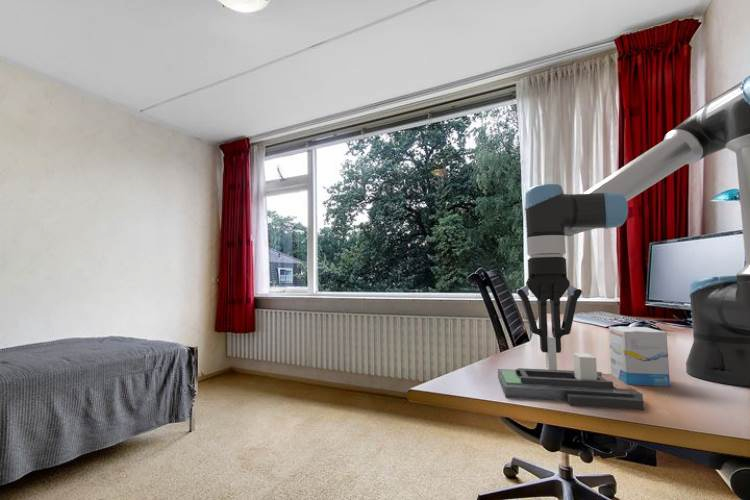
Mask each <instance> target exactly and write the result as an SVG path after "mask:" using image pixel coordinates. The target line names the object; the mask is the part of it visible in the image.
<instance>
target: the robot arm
mask: <svg viewBox="0 0 750 500" xmlns="http://www.w3.org/2000/svg"><path fill="white" fill-rule="evenodd" d="M724 149H728V150H730V151H731V152H733V153H735V157H736V158H735V159H736V166H737V167H736V169H737V178H738V179H737V180H738V190H739V200H740V201H739V203H740V213H741V215H740V216H741V224H742V238H743V247H744V248H743V250H744V258H745V265H744V267H743V268H742V269H740V270H738V271H737V272H736V274H735V275H721V276H708V277H702V278H697V279H695V280H692V281H691V282H690V287H689V298H690V308H691V322H692V323H691V324H692V333H693V334H692V335H693V336H692V338H693V340H692V341H693V342H692V346H691V348H690V351H689V353H688V356H687V359H686V361H685V370H686V371H685V372H686V373H687V374H688V375H690V376H693V377H695V378H698V379H701V380H705V381H709V382H714V383H715V382H716V383H719V384H726V385H734V386H742V387H750V75H748V76H747V77H745V78H744V79H743V80H742V81H741V82H738V83H737V84H735V85H734V86H732V87H731V88H729V89H727V90H726V91H724V92H722V93H721V94H719V95H717V96H716V97H713V99H711V100H709V101H708V102H706V103H704V105H702V106H701V107H700V108H699V109H697V110H696V111H695V112H694V113H693V114H691V115H690V116H689V117H687V118H686V119H685V120H684V121H683V122H681V123H680V124H678V125H677V126H675V127H674V128H673V129H672V130H670V131H668V132H667V133H666V134H665V135H664V138H663V140H662V141H660V142H659V143H658V144H656V145H655V146H653V147H651V148H650V149H648V150H647V151H645V152H643V153H642V154H640V155H639V156H637V157H636V158H635V159H633V160H631V161H629V162H628V163H627V164H625V165H623V166H622V167H621V168H619V169H617V170H616V171H615V172H613V173H612V174H610V175H609V176H607V177H605V178H604V179H603V180H601V181H599V182H597V183H596V184H595V185H592V187H590V188H589V189H587V190H585V191H583V192H582V193H574V194H572V193H571V194H570V193H565V192H564V190H563V186H562V185H560V184H557V183H555V184H554V183H543V184H538V185H533V186H530V187H529V188H528V189H527V190H526V192H525V200H524V201H525V203H524V204H525V205H524V206H525V207H524V211H525V223H526V226H525V227H526V248H527V250H526V255H527V256H529V257H530V258H528V259H527V280H526V281H525V282H526V283H525V285H523V286H522V287H520V288H517V289H516V291H515V293H516V294H517V296H518V297H519V299H520V300H521V304H522V306H523V307H522V308H523V310H524V314H525V317H526V321H527V323H528V327H529V330H530V332H531V333H532V334H534V335H537V336H539V348H540V351H541V352H542V353H545V367H546V368H547V370H558V364H557V353H558V354H559V353H561V352H562V340H561V339H562V337H563V336H567V335H570V334H571V331H572V325H573V321H574V316H575V311H576V308H577V303H578V300H579V299H580V297H581V295H582V294H583V291H582V289H580V288H576V287H574V285H571V283H570V280H569V279H568V276H567V275H568V272H567V269H568V268H567V259H566V258H565V257H564V255H566V253H567V252H566V240H565V239H566V237H572V236H574V235H576V234H580V233H584V232H588V231H591V230H595V229H596V230H597V229H606V230H607V229H611V228H619V227H621V226H623V225H624V224H625V222H626V221H627V218H628V214H629V205H628V202H629V201H630V200H631V199H633V198H635V197H636V196H638V195H640V194H641V193H643V192H644V191H646V190H647V189H649V188H650V187H653V186H654V185H655V184H657V183H658V182H660V181H661V180H663V179H664V178H666V177H668V176H670V175H671V174H673V173H674V172H676V171H677V170H679V169H680V168H682V167H684V166H685V165H693V164H694V165H695V164H696V163H698V162H699V161H701V160H703V159H704V158H706V157H708V156H711V155H712V154H714V153H716V152H719V151H722V150H724ZM529 291H530V292H531V293H532V295H533V296H534V297H535V298H536V299H537V300H536V302H537V312H538V313H537V314H538V325H537V322H536V319H535V315H534V311H533V308H532V304H531V301H530V299H529V296H530V293H529ZM565 293H567V296H568V297H567V298H566V304H565V309H564V313H563V318H562V321H561V309H560V308H561V306H560V305H561V299H562V297H563V296H564V295H565ZM548 300H549V304H550V315H551V316H550V319H551V334H552V335H549V334H548V333H549V332H548V330H549V329H548V310H547V305H548ZM561 322H562V323H561Z"/></svg>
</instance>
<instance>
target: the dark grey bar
mask: <svg viewBox="0 0 750 500" xmlns="http://www.w3.org/2000/svg"><path fill="white" fill-rule="evenodd" d="M567 400H568V401H567V404H568V405H569V406H570V407H571V406H572V407H573V406H574V407H584V408H585V407H586V408H588V407H589V408H604V409H618V410H620V409H621V410H636V411H645V404H644V403H645V401H644V399H643V400H641V399H640V398H629V397H612V396H595V395H578V394H567Z"/></svg>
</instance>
